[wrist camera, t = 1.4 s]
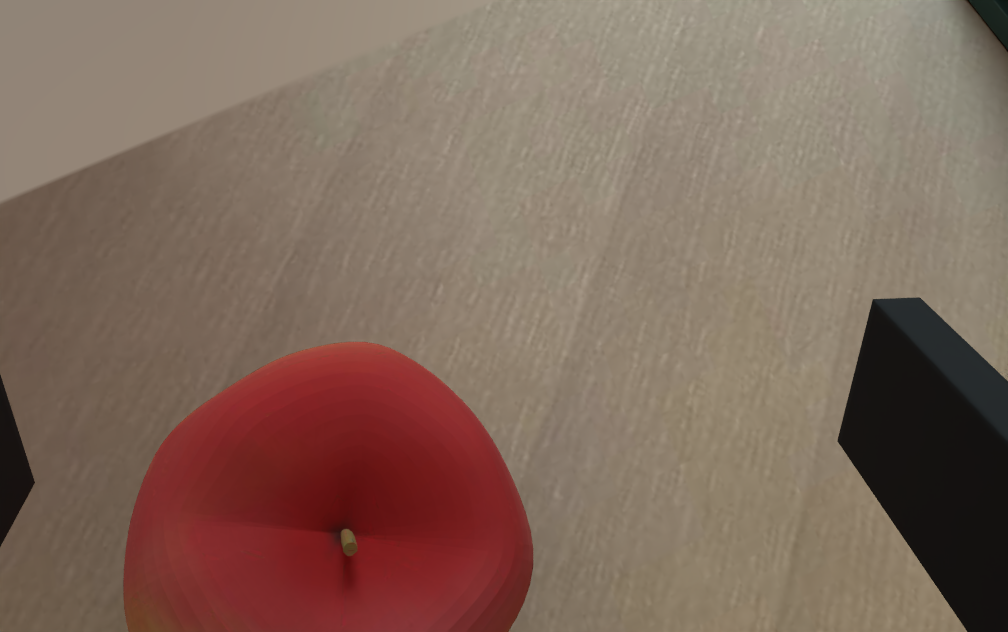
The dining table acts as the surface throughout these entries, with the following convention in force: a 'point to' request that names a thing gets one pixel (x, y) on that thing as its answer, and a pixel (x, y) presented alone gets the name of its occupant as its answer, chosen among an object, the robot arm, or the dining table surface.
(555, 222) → the dining table surface
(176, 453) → the apple
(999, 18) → the cupboard
